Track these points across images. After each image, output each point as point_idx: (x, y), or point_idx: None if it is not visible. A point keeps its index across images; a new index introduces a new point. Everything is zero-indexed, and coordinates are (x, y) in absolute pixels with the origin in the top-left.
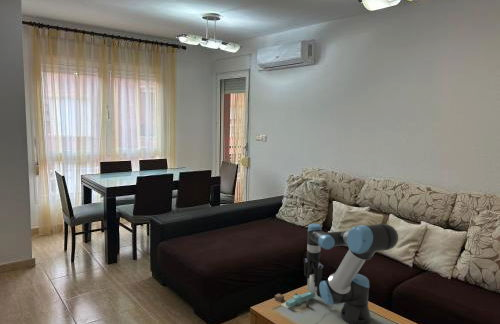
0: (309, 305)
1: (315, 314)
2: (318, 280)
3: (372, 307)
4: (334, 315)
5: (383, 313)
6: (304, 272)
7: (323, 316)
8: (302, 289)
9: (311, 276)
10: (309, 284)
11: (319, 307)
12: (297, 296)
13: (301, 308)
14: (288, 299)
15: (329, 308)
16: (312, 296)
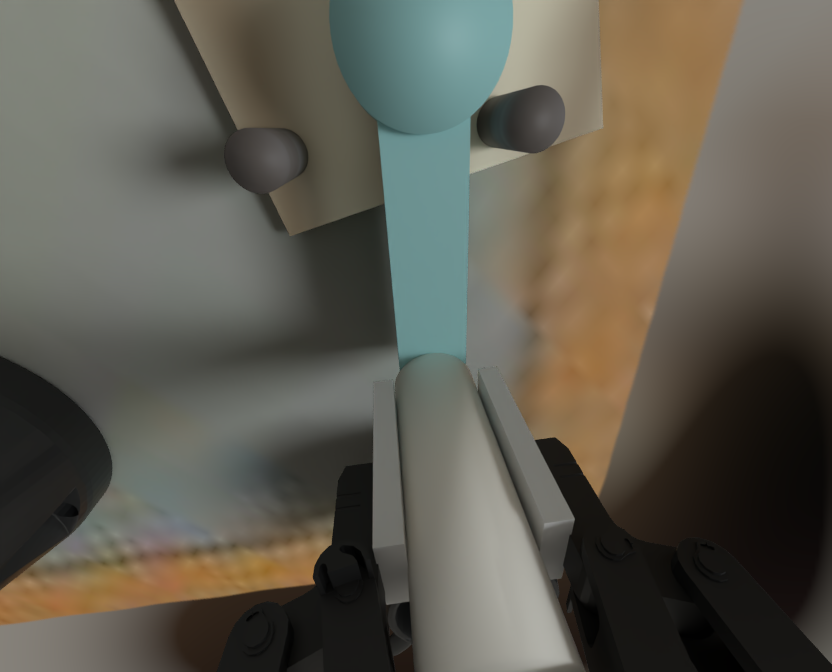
0: (301, 202)
1: (110, 131)
2: (231, 651)
3: (117, 591)
4: (41, 316)
5: (17, 598)
6: (788, 636)
7: (35, 191)
8: (614, 385)
9: (481, 652)
10: (481, 433)
11: (255, 296)
12: (438, 46)
13: (277, 18)
14: (592, 47)
15: (199, 365)
16: (397, 344)
